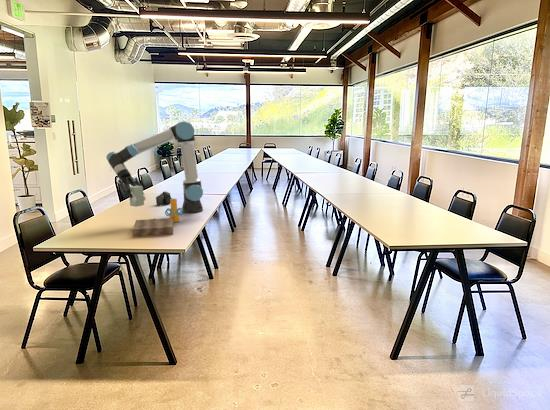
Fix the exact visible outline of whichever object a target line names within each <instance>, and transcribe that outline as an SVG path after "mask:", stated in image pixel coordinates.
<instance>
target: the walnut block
mask: <svg viewBox="0 0 550 410" xmlns="http://www.w3.org/2000/svg"><path fill="white" fill-rule="evenodd" d="M134 222H135V223H134V224H133V228H132V237H133V238H138V237H139V238H141V237H153V236H169V235H174V222H173V218H170V217H168V218H167V217H166V218H149V219H135V221H134Z"/></svg>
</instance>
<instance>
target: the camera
mask: <svg viewBox="0 0 550 410" xmlns="http://www.w3.org/2000/svg"><path fill="white" fill-rule="evenodd" d="M170 199H173V198H172V196H171V192H168V191H162V193H160V194H159V195H157V196H155V200H156V205H157V206H160V205H162V206H164V205H167V204H171V203H170ZM163 204H164V205H163Z"/></svg>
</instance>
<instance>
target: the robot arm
mask: <svg viewBox="0 0 550 410" xmlns="http://www.w3.org/2000/svg"><path fill="white" fill-rule="evenodd" d="M195 139H196V136H195V127H194V125H193V124H192V123H191V122H189V121H187V120H182V121H179V122H177V123H175V124H174V125H172V126H170V127H169V128H168V129H167V130H165V131H162V132H159V133H157V134H155V135H152V136H150V137H147V138H145V139H142V140H140V141H138V142H135V143H131V144H130V145H127V146H125V147H124V148H123V149H122V150H120V151H118V152H116V151H112V152H111V151H110V152H108V153H107V154H106V160H107V162H108V165H110V167H111V168H112V170H113V172H114V174H115V175H116V176H117V178H118V180H117V182H116V183H117V184H118V185H119V187H120V189H121V190H122V192H123V194H124V195H126V196H128V197H130V198H132V200H133V201H134V203H135V202H136V201H137V199H136V197H135V196H134V194H133V193H132V192H130V188H129V187H131V186H143V185H142V184H141V182H140V181H139V180H138V179H139V178H138V177H133V176H132V175H131V171H129V169H128V167H127V166H126V165H125V163H126V162H128V161H129V160H131V159H133V158H134V157H136V156H138V155H140V154H142V153H145V152H146V151H150V150H152V149H155V148H156V147H159V146H162V145H165V144H166V143H170V142H171V141H174V142H175V141H177V143H178V144H179V146H180V151H181V152H180V153H181V159H182V165H183V171H184V177H185V178H184V180H183V181H182V187H183V204H182V207H181V208H182V209H183V212H182V213H187V214H189V213H191V214H192V213H201V212H203V211H204V207H203V204H202V201H201V198H202V197H203V195H204V190H203V187H202V181H201V179H200V178H199V177H198V176H199V175H198V169H197V162H196V156H195V155H196V154H195V149H194V148H195V147H194V143H195V141H196V140H195ZM144 189H145V188H144V187H143V190H144ZM143 197H144V202H145V201H146V200H147V197H146V196H145V193H144V192H143ZM130 198H129V199H130Z"/></svg>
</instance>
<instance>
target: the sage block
mask: <svg viewBox="0 0 550 410" xmlns="http://www.w3.org/2000/svg"><path fill="white" fill-rule="evenodd" d="M129 188H130V192H132V193H133V194H134V196H135V197H136V199H137V201H136V202H135V203H134V201H133V200H132V198H130V197H129V196H128V197H129V205H130V206H131V207H136V208H137V207H141V206H145V201H144V197H143V193H144V189H143V188H144V186H143V185H142V186H131V185H130V186H129ZM130 206H129V207H130Z"/></svg>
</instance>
